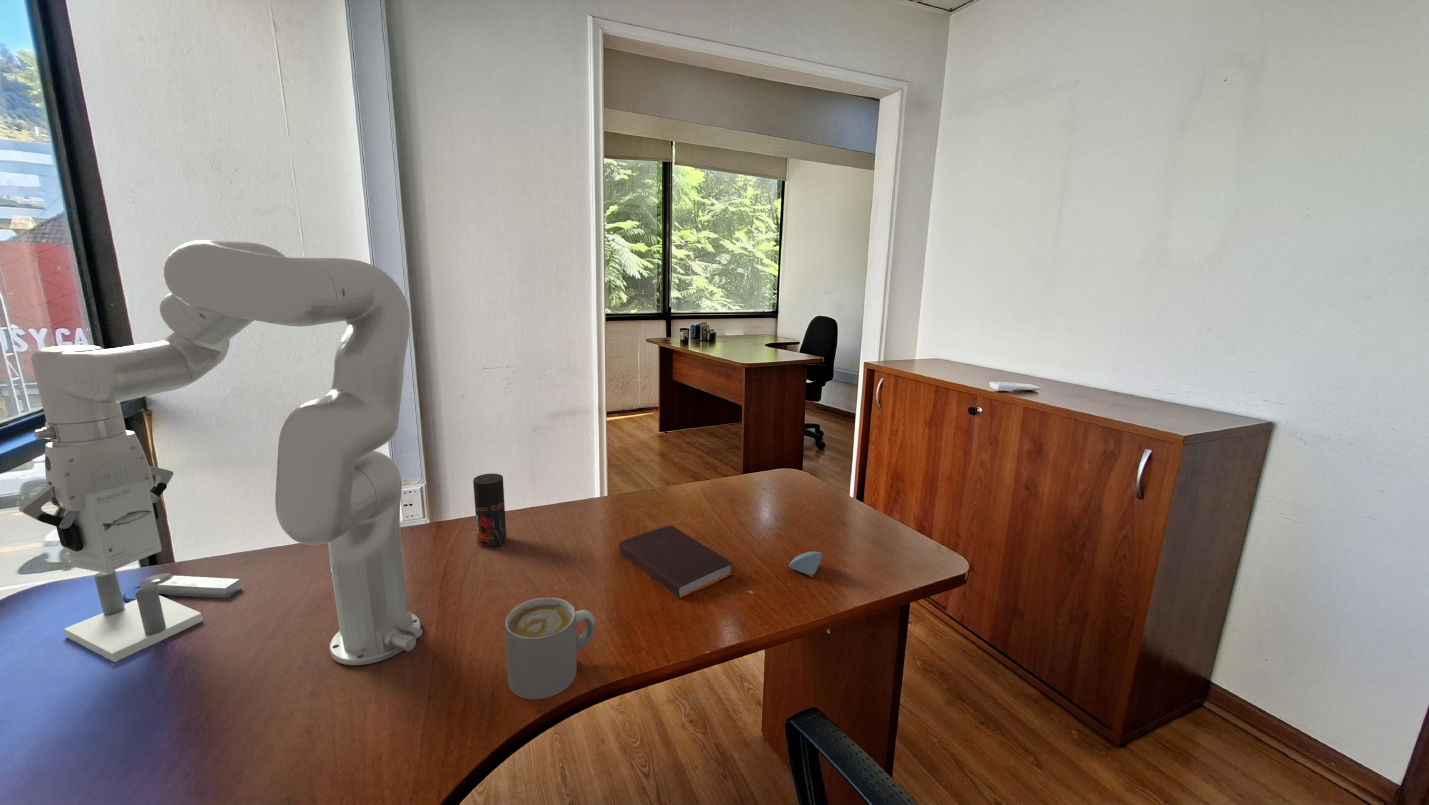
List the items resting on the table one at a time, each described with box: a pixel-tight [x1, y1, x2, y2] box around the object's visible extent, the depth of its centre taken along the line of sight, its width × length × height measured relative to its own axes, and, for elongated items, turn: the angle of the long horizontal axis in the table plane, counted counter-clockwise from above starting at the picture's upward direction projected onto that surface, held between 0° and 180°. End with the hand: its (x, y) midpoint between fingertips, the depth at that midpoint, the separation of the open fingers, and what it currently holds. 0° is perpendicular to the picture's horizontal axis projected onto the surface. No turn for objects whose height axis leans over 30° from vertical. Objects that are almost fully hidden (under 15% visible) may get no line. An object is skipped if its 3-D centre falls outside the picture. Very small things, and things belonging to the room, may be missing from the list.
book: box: [618, 525, 734, 598], centre depth 116 cm, size 14×22×4 cm, turn 40°
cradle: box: [63, 569, 204, 663], centre depth 90 cm, size 14×11×8 cm
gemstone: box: [788, 550, 824, 575], centre depth 114 cm, size 8×8×5 cm
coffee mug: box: [504, 596, 596, 700], centre depth 84 cm, size 13×10×10 cm
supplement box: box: [56, 479, 163, 573], centre depth 86 cm, size 7×7×13 cm
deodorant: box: [472, 473, 507, 550], centre depth 121 cm, size 6×6×15 cm
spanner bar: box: [139, 572, 242, 599], centre depth 101 cm, size 16×4×2 cm, turn 88°
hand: (113, 536), depth 87 cm, fingers closed on supplement box, 8 cm apart
